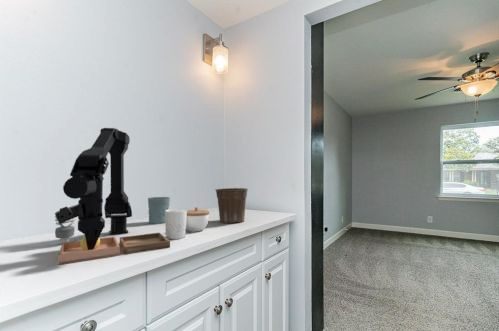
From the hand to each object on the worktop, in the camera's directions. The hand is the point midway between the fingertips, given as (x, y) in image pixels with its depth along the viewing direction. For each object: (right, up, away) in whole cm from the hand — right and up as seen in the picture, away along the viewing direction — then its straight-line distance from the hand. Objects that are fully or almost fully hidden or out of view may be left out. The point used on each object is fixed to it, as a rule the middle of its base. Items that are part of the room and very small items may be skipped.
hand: (90, 248), depth 75 cm
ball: (0, -1, 0) cm, 1 cm away
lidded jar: (+25, -3, +31) cm, 40 cm away
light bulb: (-15, -2, +10) cm, 18 cm away
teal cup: (+3, -3, +48) cm, 49 cm away
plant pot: (+38, -3, +51) cm, 64 cm away
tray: (+13, -2, +8) cm, 15 cm away
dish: (0, -1, 0) cm, 1 cm away
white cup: (+20, -2, +19) cm, 28 cm away
